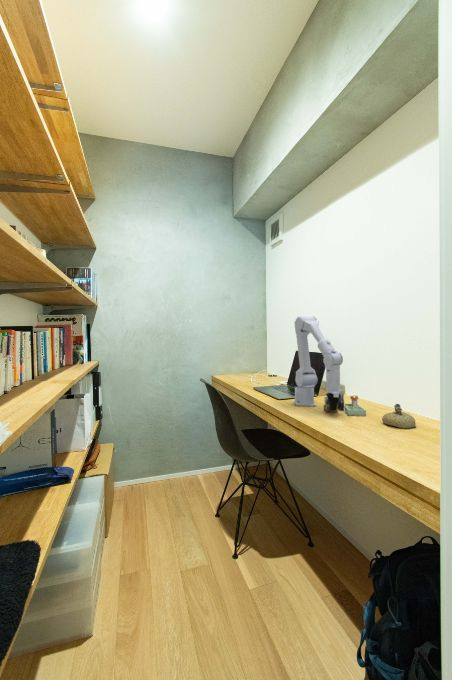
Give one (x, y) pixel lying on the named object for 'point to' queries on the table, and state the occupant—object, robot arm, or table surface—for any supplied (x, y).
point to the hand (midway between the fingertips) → (333, 410)
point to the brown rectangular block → (328, 410)
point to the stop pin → (354, 402)
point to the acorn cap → (399, 418)
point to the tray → (355, 411)
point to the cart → (340, 402)
